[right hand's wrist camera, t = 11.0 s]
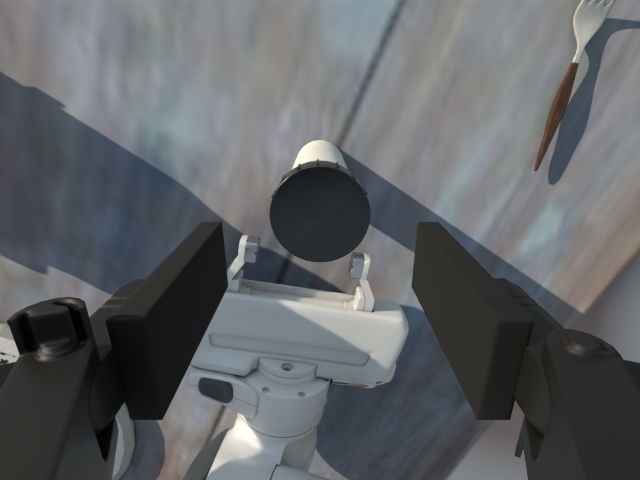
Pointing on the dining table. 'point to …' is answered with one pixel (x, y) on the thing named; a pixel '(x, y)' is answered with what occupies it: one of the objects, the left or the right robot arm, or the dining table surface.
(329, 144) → the white cylinder
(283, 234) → the lid
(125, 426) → the wall clock
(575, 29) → the fork
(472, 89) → the dining table surface
